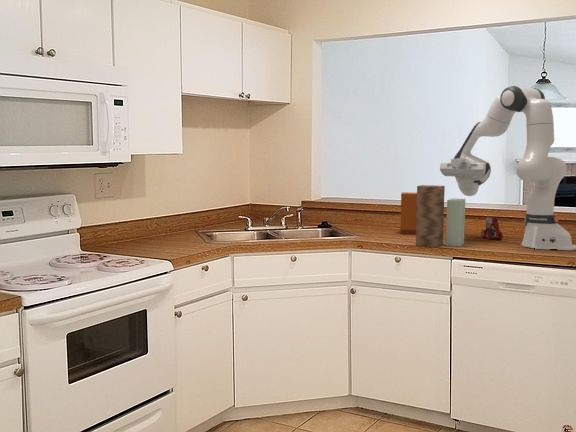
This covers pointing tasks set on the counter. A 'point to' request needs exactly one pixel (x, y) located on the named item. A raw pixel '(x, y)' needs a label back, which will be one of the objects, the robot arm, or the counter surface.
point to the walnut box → (430, 215)
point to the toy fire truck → (491, 229)
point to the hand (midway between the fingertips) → (460, 161)
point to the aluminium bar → (458, 162)
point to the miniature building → (408, 213)
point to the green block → (455, 222)
